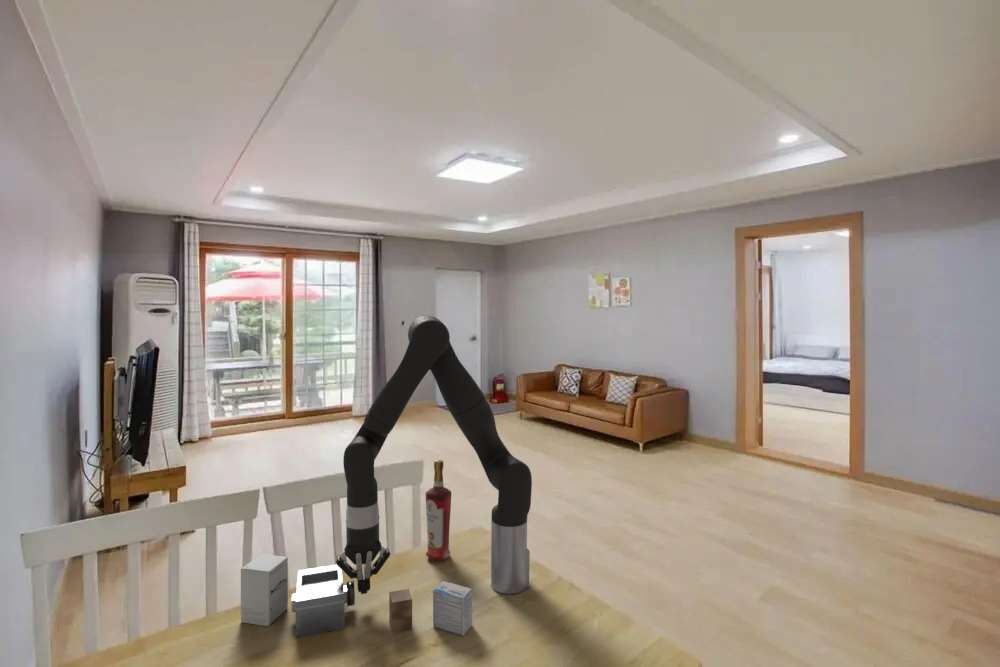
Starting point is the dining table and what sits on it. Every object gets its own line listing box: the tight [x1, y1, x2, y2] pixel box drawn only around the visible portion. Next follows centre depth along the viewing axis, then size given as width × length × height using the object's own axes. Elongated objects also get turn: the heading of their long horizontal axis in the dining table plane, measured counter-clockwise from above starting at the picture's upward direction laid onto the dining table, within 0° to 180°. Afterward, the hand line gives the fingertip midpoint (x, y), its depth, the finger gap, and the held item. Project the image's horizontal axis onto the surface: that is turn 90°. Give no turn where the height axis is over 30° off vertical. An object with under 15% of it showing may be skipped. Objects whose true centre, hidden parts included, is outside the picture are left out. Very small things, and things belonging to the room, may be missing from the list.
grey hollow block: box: [295, 564, 345, 639], centre depth 118 cm, size 10×14×8 cm
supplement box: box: [240, 553, 289, 627], centre depth 117 cm, size 7×7×13 cm
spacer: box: [388, 588, 413, 635], centre depth 114 cm, size 4×4×7 cm
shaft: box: [291, 580, 356, 614], centre depth 118 cm, size 14×5×5 cm, turn 110°
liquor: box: [425, 459, 452, 562], centre depth 145 cm, size 7×7×28 cm
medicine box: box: [432, 580, 473, 636], centre depth 114 cm, size 8×4×9 cm, turn 65°
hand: (363, 592), depth 121 cm, fingers closed
